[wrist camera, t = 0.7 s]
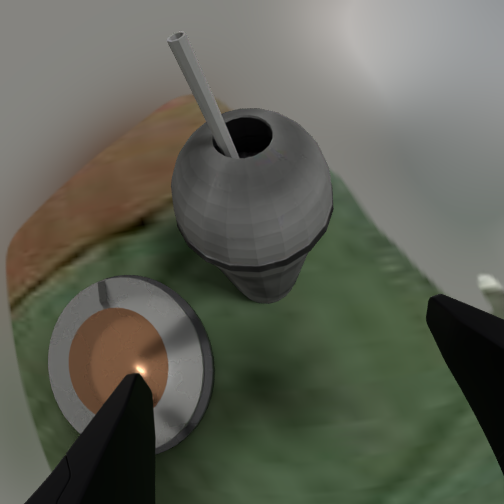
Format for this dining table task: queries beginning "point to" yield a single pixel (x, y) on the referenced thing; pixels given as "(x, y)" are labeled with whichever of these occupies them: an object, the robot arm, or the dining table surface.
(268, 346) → the dining table surface
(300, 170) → the beverage cup
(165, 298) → the disc
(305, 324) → the dining table surface
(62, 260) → the dining table surface
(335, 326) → the dining table surface
